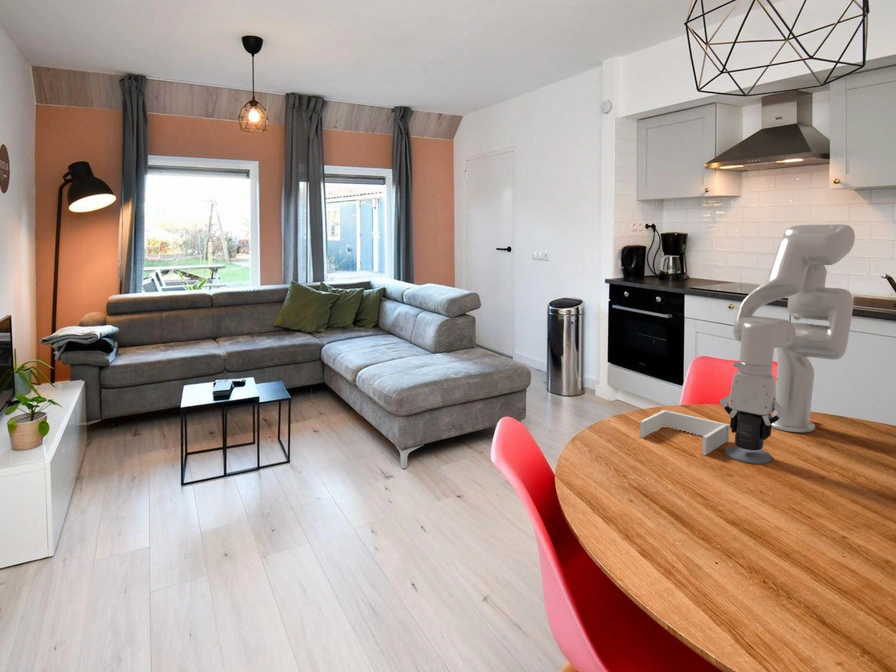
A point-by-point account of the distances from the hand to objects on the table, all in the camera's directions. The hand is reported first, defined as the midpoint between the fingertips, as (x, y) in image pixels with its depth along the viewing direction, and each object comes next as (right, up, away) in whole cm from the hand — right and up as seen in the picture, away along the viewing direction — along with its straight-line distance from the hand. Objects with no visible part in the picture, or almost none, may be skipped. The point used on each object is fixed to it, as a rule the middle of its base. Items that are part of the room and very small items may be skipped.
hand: (749, 434), depth 149 cm
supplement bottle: (0, -3, +1) cm, 4 cm away
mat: (0, -6, +1) cm, 6 cm away
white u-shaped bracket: (-13, -4, +13) cm, 19 cm away
